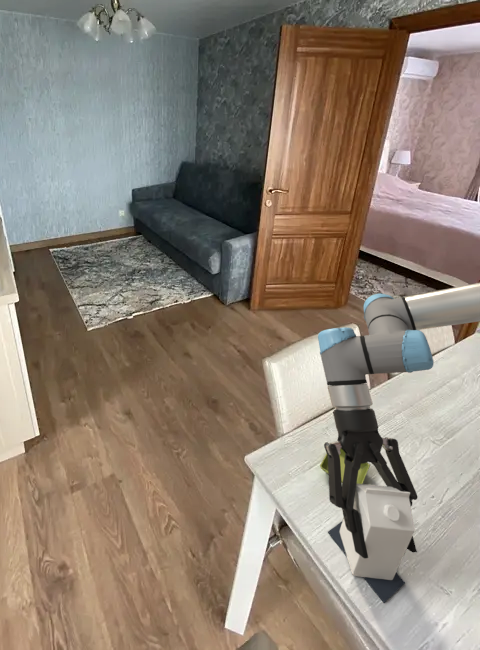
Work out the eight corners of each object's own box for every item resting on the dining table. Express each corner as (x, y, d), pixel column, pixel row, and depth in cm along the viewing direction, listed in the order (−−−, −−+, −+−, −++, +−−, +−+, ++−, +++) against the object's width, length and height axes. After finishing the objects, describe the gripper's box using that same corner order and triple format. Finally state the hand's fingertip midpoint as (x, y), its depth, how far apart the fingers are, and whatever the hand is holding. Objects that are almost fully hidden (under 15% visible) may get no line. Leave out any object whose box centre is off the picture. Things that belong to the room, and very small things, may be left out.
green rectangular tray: (356, 499, 76) (359, 492, 75) (317, 472, 81) (319, 466, 80) (368, 470, 82) (370, 464, 81) (331, 447, 87) (332, 441, 86)
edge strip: (404, 583, 62) (405, 582, 62) (383, 603, 60) (384, 602, 60) (347, 517, 72) (348, 516, 72) (327, 532, 70) (327, 531, 70)
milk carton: (338, 531, 70) (358, 468, 62) (375, 535, 69) (399, 472, 62) (352, 576, 63) (376, 511, 56) (392, 581, 62) (422, 515, 55)
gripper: (389, 403, 73) (425, 537, 64) (294, 410, 71) (318, 549, 62) (414, 405, 66) (459, 554, 57) (310, 413, 64) (339, 569, 55)
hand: (385, 551), depth 60 cm, fingers closed on milk carton, 8 cm apart
